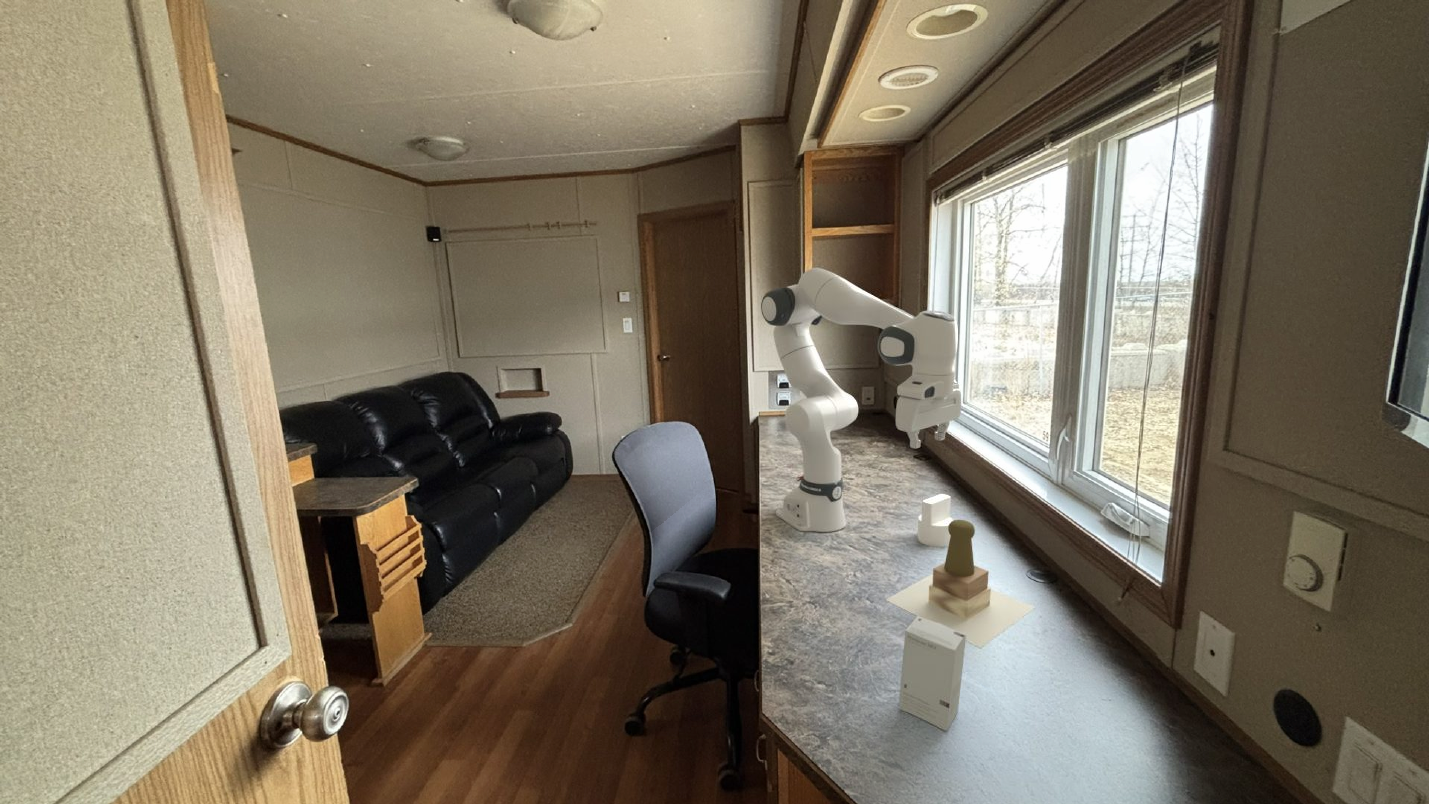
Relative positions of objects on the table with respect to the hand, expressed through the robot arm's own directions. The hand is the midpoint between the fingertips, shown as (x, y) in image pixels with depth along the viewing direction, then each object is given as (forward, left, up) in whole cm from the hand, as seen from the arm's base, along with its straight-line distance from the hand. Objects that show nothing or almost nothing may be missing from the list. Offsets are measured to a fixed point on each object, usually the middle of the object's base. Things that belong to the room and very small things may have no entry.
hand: (927, 443), depth 127 cm
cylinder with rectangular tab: (-10, +20, -34) cm, 41 cm away
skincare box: (+26, -37, -34) cm, 56 cm away
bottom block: (+12, -5, -33) cm, 35 cm away
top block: (+12, -5, -29) cm, 32 cm away
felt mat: (+12, -5, -34) cm, 36 cm away
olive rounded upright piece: (+12, -5, -25) cm, 28 cm away
